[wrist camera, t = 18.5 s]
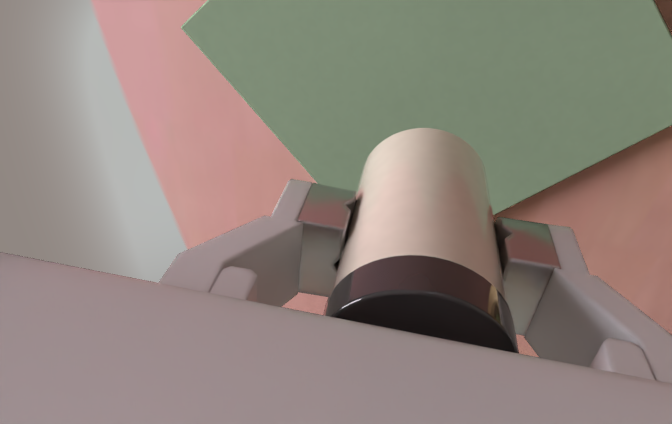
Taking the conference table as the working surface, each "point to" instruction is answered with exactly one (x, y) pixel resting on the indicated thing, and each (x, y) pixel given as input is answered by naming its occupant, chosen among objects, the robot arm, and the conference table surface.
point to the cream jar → (424, 245)
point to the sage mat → (447, 79)
